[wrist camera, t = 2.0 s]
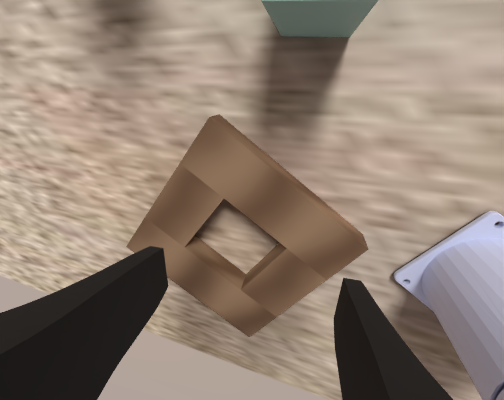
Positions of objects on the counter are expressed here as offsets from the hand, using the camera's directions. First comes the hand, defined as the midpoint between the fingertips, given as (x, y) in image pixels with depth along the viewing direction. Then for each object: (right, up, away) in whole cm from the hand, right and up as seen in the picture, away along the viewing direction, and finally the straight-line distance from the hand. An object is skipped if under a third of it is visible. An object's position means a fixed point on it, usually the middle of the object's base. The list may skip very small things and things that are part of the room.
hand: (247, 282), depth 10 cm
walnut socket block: (-1, 0, +12) cm, 12 cm away
